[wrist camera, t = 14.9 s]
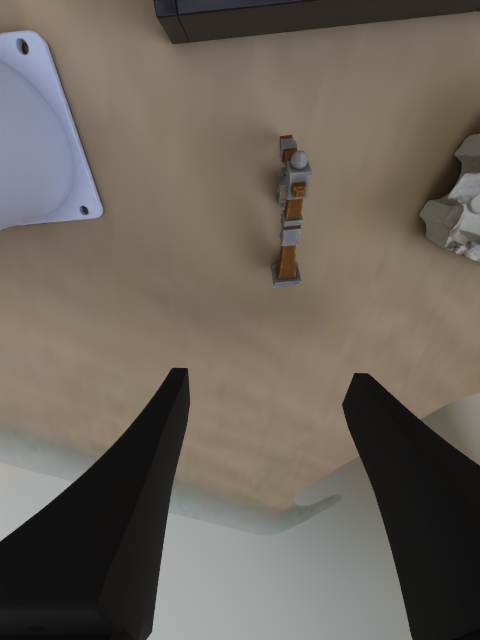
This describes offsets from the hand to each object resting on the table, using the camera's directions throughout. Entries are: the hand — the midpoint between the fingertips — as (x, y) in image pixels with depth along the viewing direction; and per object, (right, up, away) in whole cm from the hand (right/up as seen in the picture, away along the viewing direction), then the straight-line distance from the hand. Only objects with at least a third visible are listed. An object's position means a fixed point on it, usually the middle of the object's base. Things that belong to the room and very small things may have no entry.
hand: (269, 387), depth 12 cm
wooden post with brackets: (+1, +10, +5) cm, 11 cm away
